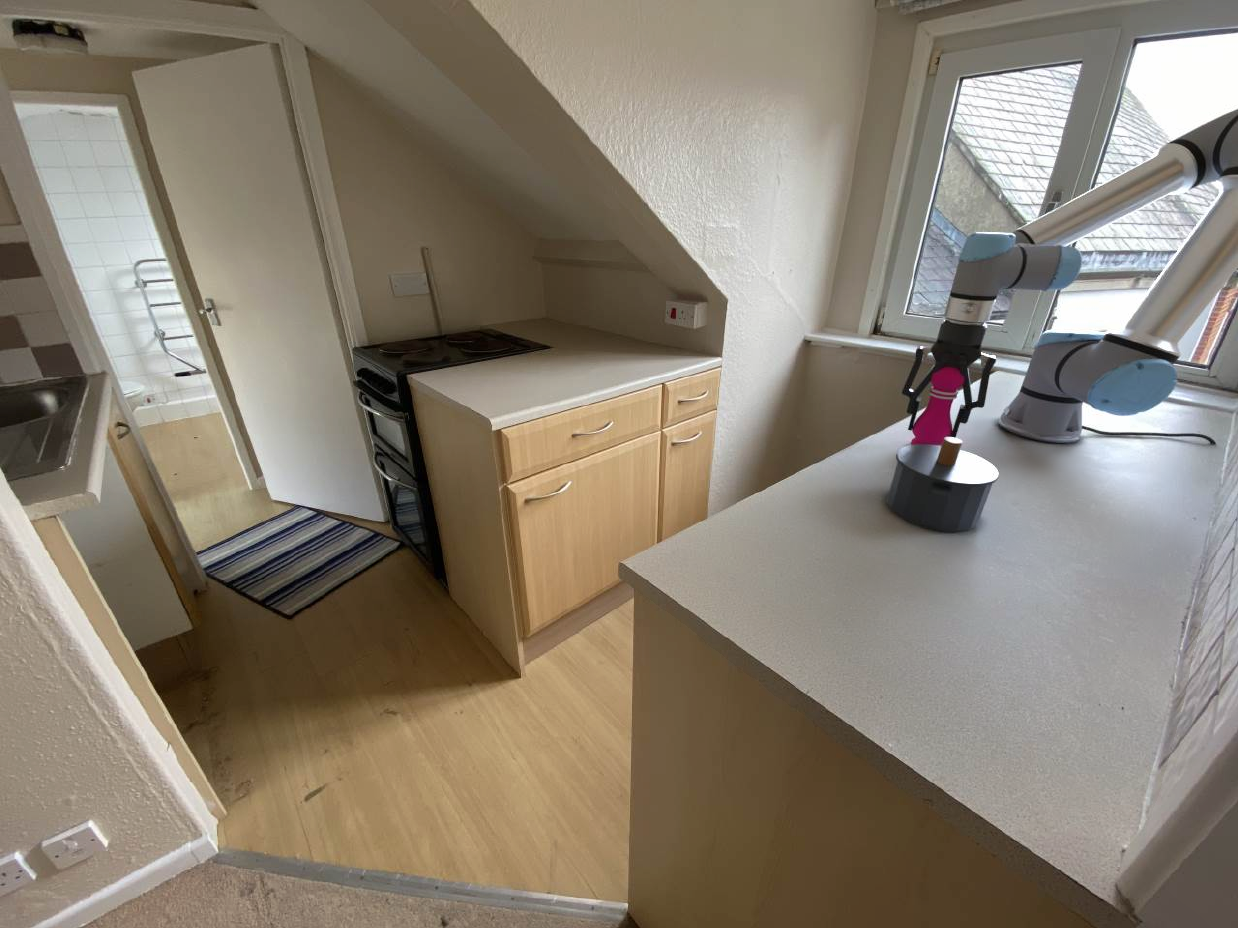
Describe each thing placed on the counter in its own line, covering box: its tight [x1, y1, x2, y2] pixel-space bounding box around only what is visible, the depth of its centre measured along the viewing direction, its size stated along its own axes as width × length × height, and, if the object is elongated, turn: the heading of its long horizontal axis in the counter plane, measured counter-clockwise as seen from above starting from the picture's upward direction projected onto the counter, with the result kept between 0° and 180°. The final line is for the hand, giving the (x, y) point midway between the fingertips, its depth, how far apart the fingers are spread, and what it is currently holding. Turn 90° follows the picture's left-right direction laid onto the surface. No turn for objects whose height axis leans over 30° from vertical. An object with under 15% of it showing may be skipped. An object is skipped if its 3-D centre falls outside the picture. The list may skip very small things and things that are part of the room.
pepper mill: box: [909, 367, 964, 446], centre depth 108 cm, size 7×7×20 cm
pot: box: [886, 461, 993, 533], centre depth 88 cm, size 14×19×8 cm
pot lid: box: [895, 437, 1000, 487], centre depth 85 cm, size 15×15×5 cm
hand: (931, 432), depth 110 cm, fingers closed on pepper mill, 7 cm apart
